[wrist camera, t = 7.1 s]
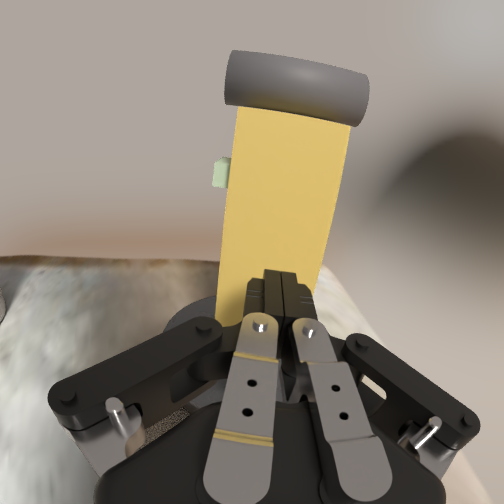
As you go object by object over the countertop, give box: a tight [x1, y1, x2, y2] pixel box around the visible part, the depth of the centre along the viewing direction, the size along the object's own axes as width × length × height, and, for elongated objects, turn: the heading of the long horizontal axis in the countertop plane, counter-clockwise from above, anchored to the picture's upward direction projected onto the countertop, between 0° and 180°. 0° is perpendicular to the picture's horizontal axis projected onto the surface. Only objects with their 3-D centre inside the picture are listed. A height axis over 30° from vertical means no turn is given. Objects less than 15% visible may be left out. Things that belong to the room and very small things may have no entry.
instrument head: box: [212, 50, 369, 327], centre depth 19 cm, size 5×8×21 cm, turn 87°
